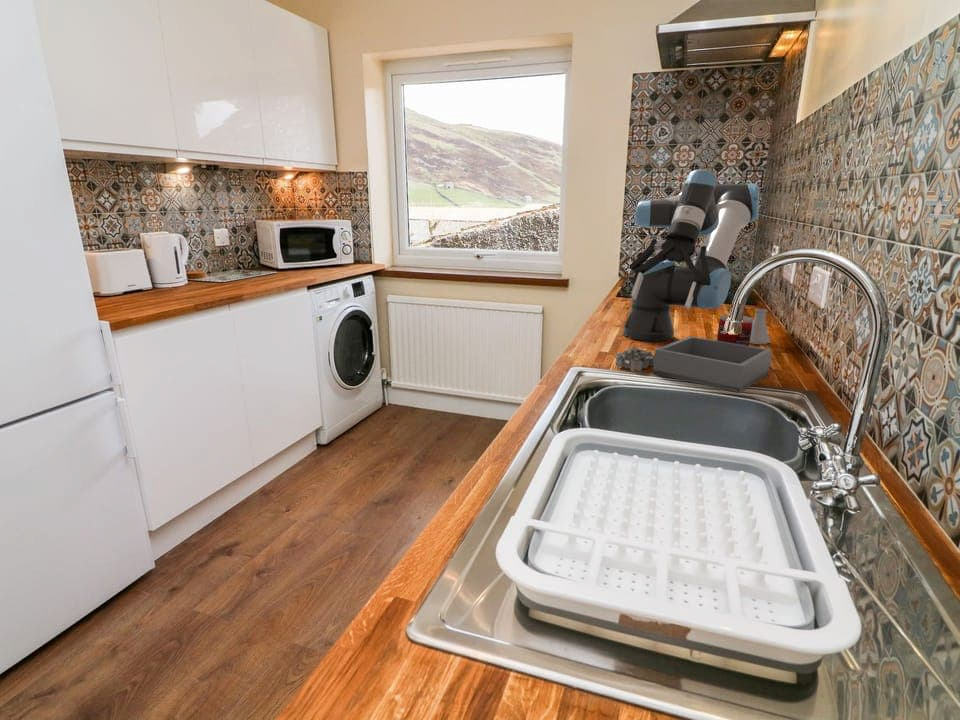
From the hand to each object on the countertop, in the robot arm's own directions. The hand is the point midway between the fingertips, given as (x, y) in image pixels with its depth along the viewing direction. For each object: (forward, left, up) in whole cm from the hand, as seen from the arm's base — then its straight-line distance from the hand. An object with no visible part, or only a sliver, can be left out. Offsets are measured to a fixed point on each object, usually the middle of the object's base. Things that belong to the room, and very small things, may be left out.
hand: (659, 302), depth 137 cm
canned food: (-19, +13, -16) cm, 28 cm away
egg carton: (+7, -2, -16) cm, 17 cm away
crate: (0, +15, -15) cm, 21 cm away
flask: (-43, +12, -16) cm, 47 cm away
